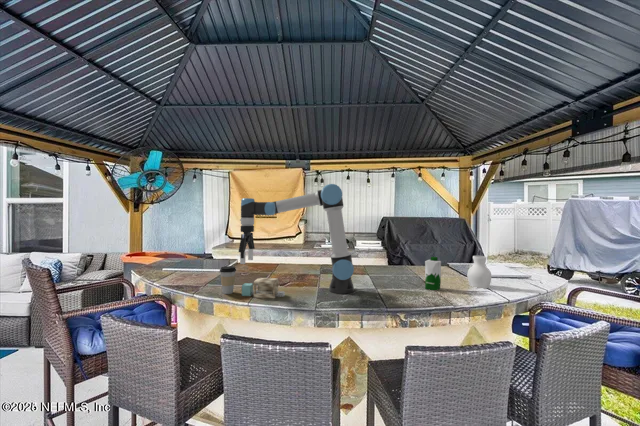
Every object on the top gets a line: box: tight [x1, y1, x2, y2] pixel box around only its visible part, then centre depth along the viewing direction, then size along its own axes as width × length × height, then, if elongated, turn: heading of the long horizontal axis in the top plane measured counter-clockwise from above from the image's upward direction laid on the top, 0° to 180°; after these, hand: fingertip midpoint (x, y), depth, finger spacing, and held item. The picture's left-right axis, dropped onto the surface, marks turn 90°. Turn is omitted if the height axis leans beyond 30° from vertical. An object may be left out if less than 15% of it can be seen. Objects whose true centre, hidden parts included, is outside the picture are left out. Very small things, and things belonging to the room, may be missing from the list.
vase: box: [466, 255, 492, 289], centre depth 194 cm, size 14×14×20 cm
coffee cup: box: [219, 265, 237, 295], centre depth 173 cm, size 9×9×15 cm
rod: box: [251, 289, 286, 298], centre depth 169 cm, size 19×3×3 cm, turn 83°
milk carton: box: [424, 256, 442, 291], centre depth 187 cm, size 9×9×20 cm
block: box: [241, 282, 254, 297], centre depth 169 cm, size 5×5×6 cm
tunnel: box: [253, 277, 279, 299], centre depth 168 cm, size 12×9×9 cm
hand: (246, 261), depth 169 cm, fingers open, 13 cm apart
